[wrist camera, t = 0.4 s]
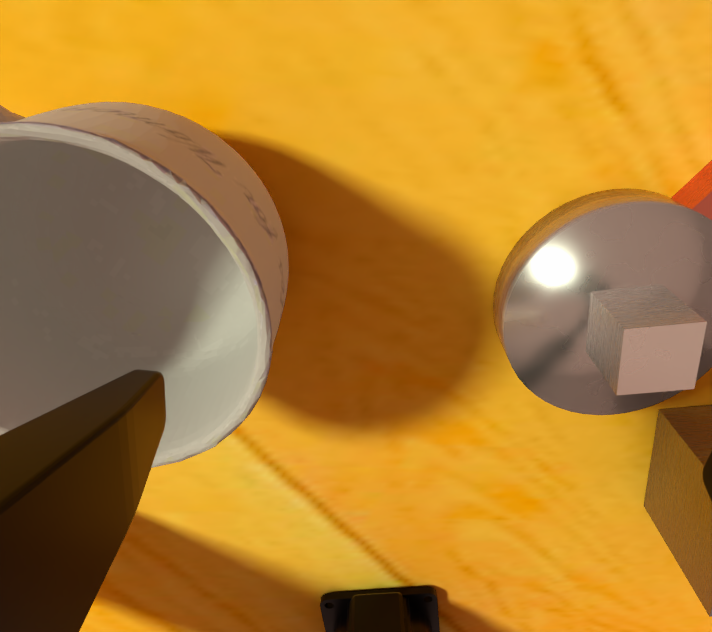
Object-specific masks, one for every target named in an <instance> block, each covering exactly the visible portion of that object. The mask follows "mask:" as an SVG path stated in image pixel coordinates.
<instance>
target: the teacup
mask: <svg viewBox="0 0 712 632" xmlns="http://www.w3.org/2000/svg"><path fill="white" fill-rule="evenodd" d="M288 276H289V262H288V248H287V242H286V237H285V233H284V229H283V225H282V222H281V219H280V216H279V214H278V211H277V209H276V206H275V204H274V202H273V200H272V198H271V196H270V194H269V192H268V191H267V189H266V188H265V186H264V184H263V183H262V181H261V180H260V178H259V177H258V176H257V174H256V173H255V172H254V170H253V169H252V168H251V167H250V165H249V164H248V163H247V162H246V161H245V160H244V159H243V158H242V157H241V156H240V155H239V154H238V153H237V152H236V151H235V150H234V149H233V148H232V147H231V146H229V145H228V144H227V143H226V142H224V141H223V140H222V139H221V138H220V137H218V136H217V135H215V134H214V133H212V132H210V131H209V130H207V129H206V128H204V127H202V126H201V125H199V124H197V123H195V122H193V121H191V120H189V119H187V118H185V117H183V116H180V115H177V114H174V113H172V112H169V111H166V110H163V109H159V108H155V107H151V106H147V105H141V104H134V103H127V102H100V103H89V104H81V105H75V106H69V107H64V108H60V109H56V110H52V111H49V112H45V113H41V114H37V115H34V116H31V117H28V118H25V117H22V116H20V115H17V114H15V113H12V112H10V111H9V110H7V109H6V108H4V107H3V106H1V105H0V435H2V434H4V433H6V432H8V431H10V430H12V429H14V428H16V427H18V426H20V425H22V424H24V423H26V422H28V421H30V420H32V419H34V418H36V417H38V416H41V415H43V414H45V413H47V412H49V411H51V410H53V409H55V408H57V407H59V406H61V405H63V404H65V403H67V402H69V401H71V400H73V399H75V398H77V397H79V396H82V395H84V394H86V393H88V392H90V391H92V390H94V389H96V388H98V387H100V386H102V385H104V384H106V383H108V382H110V381H112V380H114V379H116V378H118V377H120V376H123V375H125V374H127V373H129V372H131V371H133V370H136V369H141V370H150V371H159V372H161V373H162V374H163V377H164V381H165V401H166V423H165V428H164V431H163V434H162V437H161V440H160V443H159V446H158V449H157V452H156V455H155V458H154V461H153V464H152V467H157V466H161V465H166V464H171V463H175V462H180V461H183V460H185V459H187V458H190V457H192V456H195V455H197V454H200V453H202V452H204V451H206V450H209V449H211V448H213V447H215V446H216V445H217V444H218V443H219V442H221V441H222V440H223V439H225V438H226V437H227V436H228V435H230V434H231V433H232V432H233V431H234V430H235V429H236V428H237V427H238V426H239V425H240V424H241V423H242V422H243V421H244V420H245V419H246V418H247V416H248V415H249V414H250V413H251V411H252V410H253V408H254V406H255V405H256V403H257V401H258V400H259V398H260V396H261V393H262V391H263V388H264V386H265V383H266V380H267V377H268V373H269V369H270V363H271V357H272V349H273V344H274V340H275V337H276V334H277V331H278V328H279V324H280V320H281V316H282V312H283V308H284V304H285V298H286V293H287V286H288ZM152 467H151V468H152Z"/></svg>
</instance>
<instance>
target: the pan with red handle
mask: <svg viewBox="0 0 712 632" xmlns="http://www.w3.org/2000/svg"><path fill="white" fill-rule="evenodd" d="M493 314H494V322H495V326H496V331H497V333H498V336H499V338H500V341H501V343H502V345H503V348H504V350H505V352H506V354H507V357H508V359H509V361H510V363H511V366H512V368H513V369H514V371H515V373H516V374H517V376H518V378H519V379H520V380H521V381H522V382H523V383H524V385H525V386H526V387H527V388H528V389H529V390H531V391H532V392H533V393H534V394H535V395H536V396H538V397H540V398H541V399H543V400H544V401H546V402H548V403H550V404H552V405H554V406H556V407H559V408H562V409H565V410H568V411H571V412H577V413H582V414H592V415H612V414H620V413H627V412H631V411H635V410H640V409H643V408H646V407H649V406H652V405H655V404H657V403H660V402H662V401H664V400H666V399H668V398H670V397H672V396H674V395H676V394H678V393H679V392H681V391H683V390H688V389H694V388H695V383H696V381H697V380H698V379H699V378H700V377H702V376H703V375H704V374H705V373H706V372H707V371H708V370H709V369H710V368H711V367H712V161H710V162H709V163H708V164H707V165H706V166H705V167H704V168H703V169H702V170H701V171H700V172H699V173H698V174H697V175H695V176H694V177H693V178H692V179H691V180H690V181H689V182H688V183H687V184H686V185H685V186H684V187H683V188H682V189H680V190H679V191H678V192H677V193H676V194H675V195H674V196H673V197H672V198H669V197H667V196H664V195H662V194H659V193H655V192H651V191H646V190H639V189H612V190H606V191H600V192H595V193H592V194H589V195H585V196H582V197H579V198H577V199H575V200H572V201H570V202H567V203H565V204H564V205H562V206H560V207H558V208H556V209H555V210H553V211H551V212H550V213H548V214H547V215H546V216H544V217H543V218H542V219H540V220H539V221H538V222H537V223H535V224H534V225H533V226H532V227H531V228H530V229H529V230H528V231H527V232H526V233H525V234H524V235H523V236H522V237H521V239H520V240H519V241H518V242H517V243H516V245H515V246H514V248H513V249H512V251H511V252H510V253H509V255H508V257H507V259H506V261H505V262H504V264H503V266H502V268H501V271H500V274H499V277H498V279H497V282H496V287H495V292H494V300H493Z"/></svg>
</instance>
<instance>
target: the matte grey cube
mask: <svg viewBox="0 0 712 632" xmlns="http://www.w3.org/2000/svg"><path fill="white" fill-rule="evenodd" d="M711 451H712V405H706V406H694V407H682V408H669V409H659V413H658V419H657V426H656V432H655V438H654V444H653V451H652V457H651V463H650V470H649V476H648V482H647V489H646V495H645V501H644V507H645V509H646V510H647V512H648V514H649V516H650V517H651V519H652V521H653V522H654V524H655V526H656V527H657V529H658V531H659V532H660V534H661V536H662V537H663V539H664V541H665V542H666V544H667V546H668V547H669V549H670V551H671V553H672V554H673V556H674V558H675V559H676V561H677V563H678V564H679V566H680V568H681V569H682V571H683V573H684V574H685V576H686V578H687V579H688V581H689V583H690V584H691V586H692V588H693V589H694V591H695V593H696V595H697V596H698V598H699V600H700V601H701V603H702V605H703V606H704V608H705V610H706V611H707V613H708V615H709V616H712V502H711V500H710V497H709V495H708V493H707V490H706V488H705V485H704V483H703V477H702V472H703V467H704V465H705V463H706V461H707V459H708V457H709V455H710V453H711Z"/></svg>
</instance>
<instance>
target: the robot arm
mask: <svg viewBox="0 0 712 632" xmlns="http://www.w3.org/2000/svg"><path fill="white" fill-rule="evenodd" d="M165 423H166V401H165V381H164V377H163V374H162V373H161V372H159V371H150V370H141V369H136V370H133V371H131V372H129V373H127V374H125V375H123V376H120V377H118V378H116V379H114V380H112V381H110V382H108V383H106V384H104V385H102V386H100V387H98V388H96V389H94V390H92V391H90V392H88V393H86V394H84V395H82V396H79V397H77V398H75V399H73V400H71V401H69V402H67V403H65V404H63V405H61V406H59V407H57V408H55V409H53V410H51V411H49V412H47V413H45V414H43V415H41V416H38V417H36V418H34V419H32V420H30V421H28V422H26V423H24V424H22V425H20V426H18V427H16V428H14V429H12V430H10V431H8V432H6V433H4V434H2V435H0V632H79V631H80V628H81V626H82V624H83V622H84V620H85V618H86V616H87V614H88V612H89V610H90V608H91V606H92V603H93V601H94V599H95V597H96V595H97V593H98V591H99V589H100V587H101V585H102V583H103V581H104V579H105V576H106V574H107V572H108V570H109V568H110V566H111V564H112V562H113V560H114V558H115V556H116V554H117V551H118V549H119V547H120V545H121V543H122V541H123V539H124V537H125V535H126V533H127V531H128V529H129V526H130V524H131V522H132V520H133V517H134V515H135V513H136V510H137V507H138V504H139V502H140V499H141V496H142V493H143V490H144V487H145V484H146V481H147V478H148V475H149V472H150V470H151V467H152V464H153V461H154V458H155V455H156V452H157V449H158V446H159V443H160V440H161V437H162V434H163V431H164V428H165ZM702 477H703V483H704V485H705V488H706V490H707V493H708V495H709V497H710V500H711V502H712V451H711V453H710V455H709V457H708V459H707V461H706V463H705V465H704V467H703V472H702ZM320 607H321V612H322V617H323V621H324V626H325V630H326V632H440V631H439V618H438V604H437V594H436V590H435V589H434V588H431V587H417V588H402V589H386V590H370V591H355V592H339V593H327V594H324V595H322V597H321V603H320Z"/></svg>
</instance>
